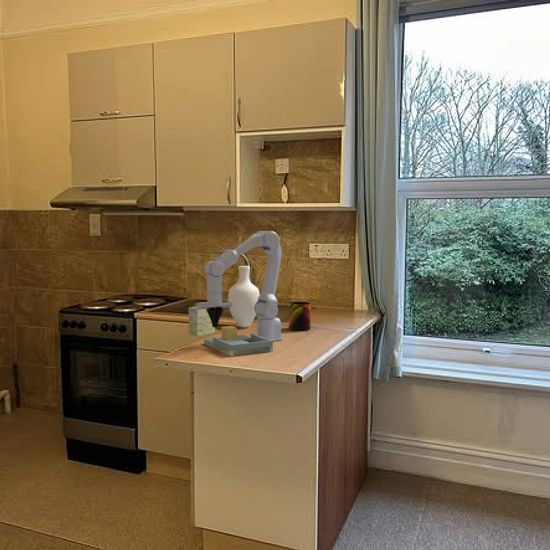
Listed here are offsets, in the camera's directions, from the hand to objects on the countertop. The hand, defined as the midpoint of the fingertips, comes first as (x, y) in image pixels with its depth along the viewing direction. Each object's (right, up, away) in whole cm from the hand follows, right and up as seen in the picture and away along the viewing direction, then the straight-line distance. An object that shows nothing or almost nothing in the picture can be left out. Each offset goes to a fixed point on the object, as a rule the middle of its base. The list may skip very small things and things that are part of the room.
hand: (214, 327), depth 214 cm
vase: (+9, -4, +40) cm, 41 cm away
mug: (+34, -5, +37) cm, 51 cm away
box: (-8, -5, +24) cm, 25 cm away
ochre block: (+5, -5, +3) cm, 8 cm away
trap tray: (+9, -8, -3) cm, 12 cm away
